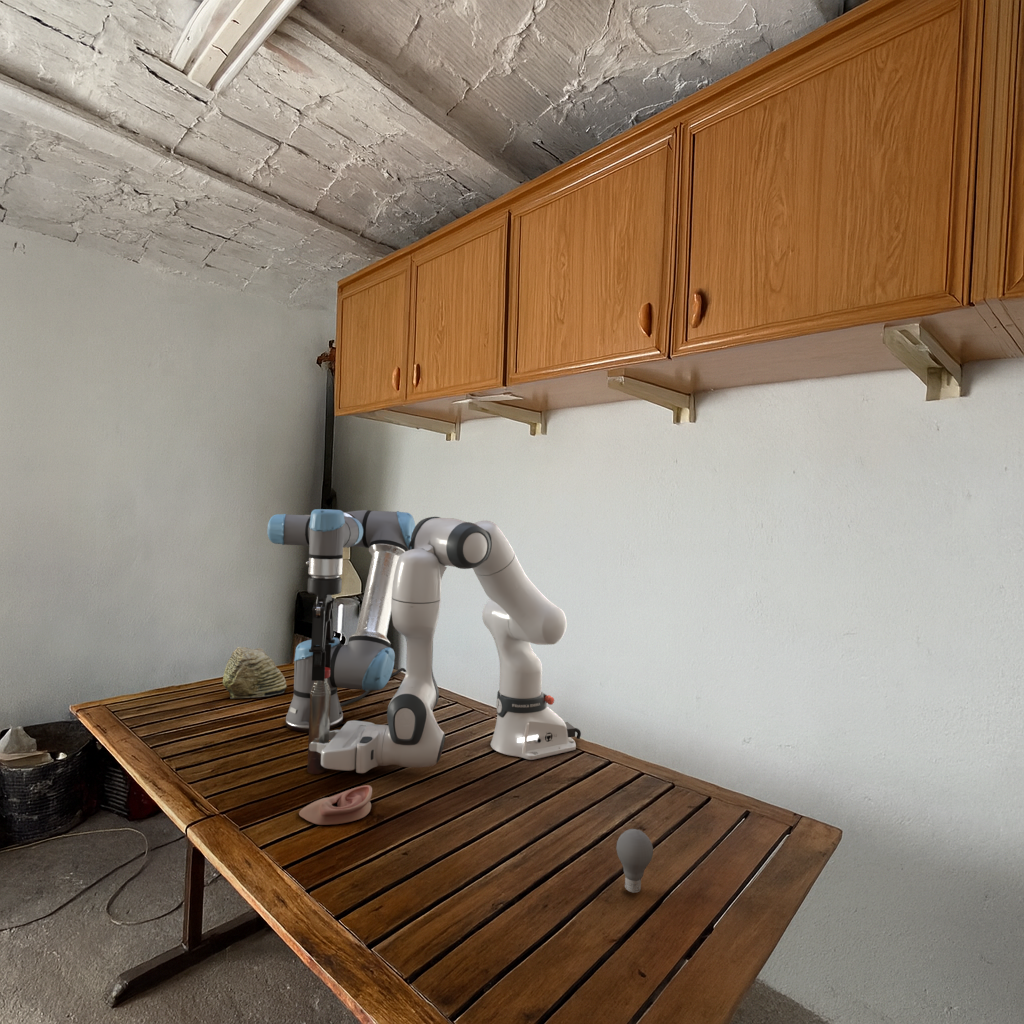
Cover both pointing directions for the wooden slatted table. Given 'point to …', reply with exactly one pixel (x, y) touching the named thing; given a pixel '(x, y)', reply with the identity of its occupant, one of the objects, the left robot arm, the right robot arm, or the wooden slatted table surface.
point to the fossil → (252, 674)
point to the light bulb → (634, 857)
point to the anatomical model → (339, 807)
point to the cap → (327, 672)
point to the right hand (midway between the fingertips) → (314, 740)
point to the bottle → (318, 723)
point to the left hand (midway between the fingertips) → (321, 675)
